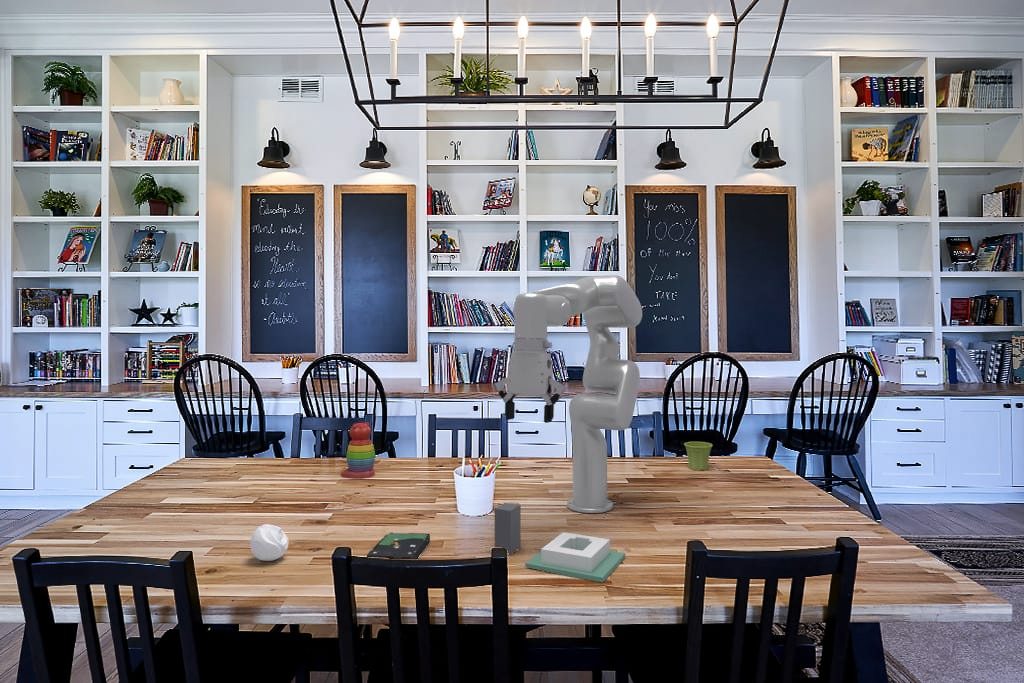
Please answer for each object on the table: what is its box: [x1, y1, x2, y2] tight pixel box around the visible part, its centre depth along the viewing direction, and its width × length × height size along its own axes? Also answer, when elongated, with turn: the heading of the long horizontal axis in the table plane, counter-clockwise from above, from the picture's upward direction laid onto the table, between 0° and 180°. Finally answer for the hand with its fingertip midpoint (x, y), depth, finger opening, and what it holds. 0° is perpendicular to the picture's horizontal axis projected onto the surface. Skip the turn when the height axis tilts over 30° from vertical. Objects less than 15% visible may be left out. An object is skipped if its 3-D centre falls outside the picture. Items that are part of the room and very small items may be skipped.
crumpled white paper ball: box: [249, 523, 290, 562], centre depth 140 cm, size 8×8×8 cm
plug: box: [494, 501, 522, 556], centre depth 145 cm, size 6×4×10 cm, turn 153°
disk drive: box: [366, 531, 431, 560], centre depth 144 cm, size 10×3×15 cm
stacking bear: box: [340, 422, 376, 480], centre depth 216 cm, size 11×10×18 cm
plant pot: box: [683, 441, 713, 472], centre depth 224 cm, size 9×9×9 cm
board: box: [524, 531, 626, 584], centre depth 138 cm, size 15×17×4 cm
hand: (528, 420), depth 149 cm, fingers open, 9 cm apart
